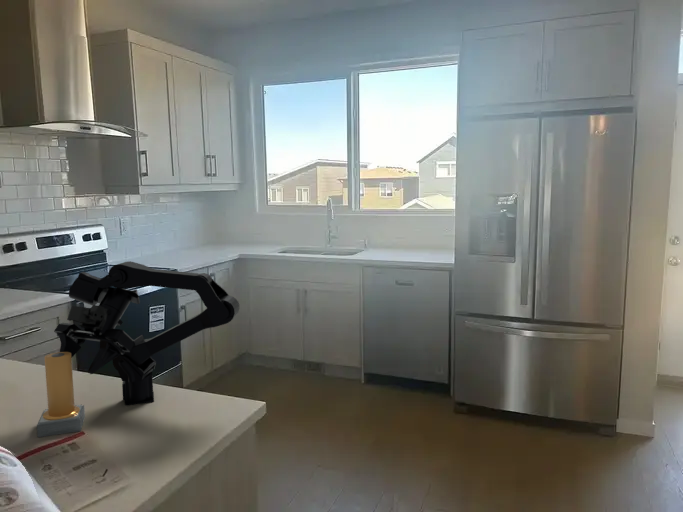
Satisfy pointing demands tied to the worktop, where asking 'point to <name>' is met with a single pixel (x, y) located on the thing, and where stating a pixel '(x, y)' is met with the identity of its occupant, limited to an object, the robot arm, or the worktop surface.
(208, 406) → the worktop surface
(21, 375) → the worktop surface
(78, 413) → the unit
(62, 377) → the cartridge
